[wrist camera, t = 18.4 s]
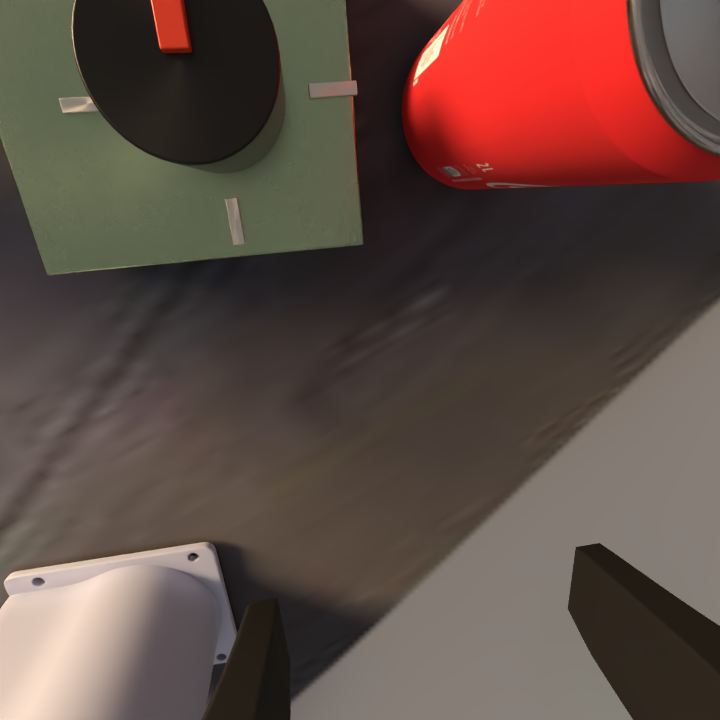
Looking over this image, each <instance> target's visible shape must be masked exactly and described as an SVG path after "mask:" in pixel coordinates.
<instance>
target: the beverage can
mask: <svg viewBox="0 0 720 720" xmlns="http://www.w3.org/2000/svg"><path fill="white" fill-rule="evenodd" d="M402 122H403V129H404V133H405V137H406V140H407V143H408V146H409V148H410V150H411V152H412V154H413V156H414V158H415V159H416V161H417V162H418V163H419V165H420V166H421V167H422V168H423V169H424V170H425V171H426V172H427V173H428V174H429V175H430V176H431V177H433V178H434V179H436V180H437V181H439V182H441V183H443V184H445V185H447V186H450V187H454V188H458V189H496V188H526V187H556V186H586V185H616V184H646V183H676V182H702V181H713V180H720V0H464V1H463V2H462V3H461V4H460V5H459V7H458V8H457V9H456V10H455V11H454V12H453V14H452V15H451V16H450V17H449V18H448V19H447V21H446V22H445V23H444V24H443V25H442V27H441V28H440V29H439V30H438V31H437V32H436V34H435V35H434V36H433V37H432V38H431V39H430V41H429V42H428V43H427V44H426V45H425V47H424V48H423V49H422V50H421V52H420V53H419V55H418V56H417V58H416V60H415V61H414V63H413V65H412V67H411V69H410V72H409V74H408V77H407V80H406V83H405V87H404V92H403V99H402Z"/></svg>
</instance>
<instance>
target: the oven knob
mask: <svg viewBox="0 0 720 720" xmlns="http://www.w3.org/2000/svg"><path fill="white" fill-rule="evenodd" d="M71 35H72V46H73V51H74V56H75V61H76V64H77V68H78V71H79V74H80V77H81V79H82V82H83V84H84V86H85V88H86V91H87V93H88V94H89V96H90V98H91V100H92V101H93V103H94V105H95V106H96V108H97V109H98V110H99V112H100V113H101V115H102V116H103V117H104V119H105V120H106V121H107V122H108V123H109V124H110V125H111V126H112V128H113V129H114V130H116V131H117V132H118V133H119V134H120V135H121V136H122V137H123V138H124V139H126V140H127V141H128V142H130V143H131V144H132V145H134V146H135V147H137V148H138V149H140V150H142V151H144V152H145V153H147V154H149V155H151V156H154V157H156V158H159V159H161V160H164V161H168V162H171V163H175V164H179V165H183V166H187V167H191V168H195V169H199V170H203V171H207V172H213V173H231V172H236V171H240V170H243V169H246V168H248V167H250V166H252V165H253V164H255V163H257V162H258V161H259V160H261V159H262V158H263V157H264V156H265V155H266V154H267V153H268V152H269V151H270V149H271V148H272V146H273V145H274V143H275V142H276V140H277V138H278V136H279V134H280V131H281V128H282V125H283V120H284V115H285V91H284V83H283V75H282V67H281V59H280V52H279V45H278V39H277V35H276V32H275V28H274V25H273V22H272V19H271V17H270V14H269V12H268V9H267V7H266V5H265V3H264V1H263V0H74V3H73V8H72V18H71Z"/></svg>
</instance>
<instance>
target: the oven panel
mask: <svg viewBox="0 0 720 720" xmlns="http://www.w3.org/2000/svg"><path fill="white" fill-rule="evenodd" d="M263 1H264V3H265V5H266V7H267V9H268V12H269V14H270V17H271V19H272V22H273V25H274V28H275V32H276V35H277V39H278V45H279V52H280V59H281V67H282V75H283V83H284V91H285V115H284V120H283V125H282V128H281V131H280V134H279V136H278V138H277V140H276V142H275V143H274V145H273V146H272V148H271V149H270V151H269V152H268V153H267V154H266V155H265V156H264V157H263V158H262V159H261V160H259V161H258V162H257V163H255V164H253V165H252V166H250V167H248V168H246V169H243V170H240V171H236V172H231V173H213V172H207V171H203V170H199V169H195V168H191V167H187V166H183V165H179V164H175V163H171V162H168V161H164V160H161V159H159V158H156V157H154V156H151V155H149V154H147V153H145V152H144V151H142V150H140V149H138V148H137V147H135V146H134V145H132V144H131V143H130V142H128V141H127V140H126V139H124V138H123V137H122V136H121V135H120V134H119V133H118V132H117V131H116V130H114V129H113V128H112V126H111V125H110V124H109V123H108V122H107V121H106V120H105V119H104V117H103V116H102V115H101V113H100V112H99V110H98V109H97V108H96V106H95V105H94V103H93V101H92V100H91V98H90V96H89V94H88V93H87V91H86V88H85V86H84V84H83V82H82V79H81V77H80V74H79V71H78V68H77V64H76V61H75V56H74V51H73V46H72V35H71V18H72V8H73V3H74V0H0V138H1V141H2V144H3V147H4V150H5V153H6V156H7V159H8V162H9V165H10V168H11V171H12V174H13V176H14V179H15V182H16V185H17V188H18V191H19V194H20V197H21V200H22V203H23V206H24V209H25V212H26V215H27V218H28V221H29V224H30V227H31V230H32V233H33V236H34V239H35V242H36V245H37V248H38V251H39V254H40V257H41V260H42V263H43V266H44V268H45V271H46V274H47V275H58V274H69V273H79V272H89V271H100V270H110V269H121V268H131V267H141V266H152V265H162V264H173V263H183V262H194V261H204V260H214V259H225V258H235V257H246V256H256V255H266V254H277V253H287V252H298V251H308V250H318V249H329V248H339V247H350V246H360V245H363V244H364V238H363V224H362V210H361V197H360V183H359V169H358V155H357V142H356V128H355V114H354V100H353V96H357V81H352V73H351V59H350V45H349V31H348V18H347V4H346V0H263Z"/></svg>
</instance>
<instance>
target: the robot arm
mask: <svg viewBox="0 0 720 720" xmlns="http://www.w3.org/2000/svg"><path fill="white" fill-rule="evenodd" d="M191 553H196V554H198V555H192V554H191ZM40 578H42V579H40ZM4 586H5V588H6V590H7V592H8V594H9V596H10V597H9V598H8V599H7V601H6V602H5V603H4V605H3V606H2V608H1V609H0V720H290V660H289V655H288V650H287V645H286V640H285V635H284V630H283V625H282V620H281V614H280V609H279V604H278V599H277V598H276V599H270V600H264V601H258V602H252V603H250V604H249V605H248V606H247V607H246V609H245V612H244V616H243V619H242V622H241V625H240V628H239V630H238V633H237V630H236V626H235V622H234V618H233V614H232V610H231V606H230V602H229V598H228V594H227V590H226V586H225V583H224V579H223V575H222V571H221V567H220V563H219V559H218V555H217V551H216V548H215V546H214V545H213V544H211V543H209V542H201V543H195V544H188V545H182V546H176V547H169V548H163V549H156V550H150V551H144V552H137V553H131V554H124V555H118V556H112V557H105V558H99V559H92V560H86V561H80V562H73V563H67V564H60V565H54V566H48V567H41V568H35V569H28V570H22V571H16V572H13V573H11V574H10V575H9V576H8V577H7V578H6V580H5V582H4ZM568 610H569V612H570V614H571V616H572V618H573V620H574V622H575V624H576V626H577V628H578V630H579V632H580V634H581V636H582V638H583V640H584V642H585V643H586V645H587V647H588V649H589V651H590V653H591V655H592V656H593V658H594V659H595V661H596V663H597V664H598V666H599V668H600V669H601V671H602V672H603V674H604V675H605V677H606V678H607V680H608V681H609V683H610V685H611V686H612V688H613V689H614V691H615V692H616V694H617V695H618V697H619V699H620V700H621V702H622V703H623V705H624V706H625V708H626V709H627V711H628V712H629V714H630V715H631V717H632V718H633V720H720V626H719V625H717V624H716V623H714V622H713V621H711V620H710V619H708V618H707V617H705V616H704V615H702V614H701V613H699V612H697V611H696V610H695V609H693V608H692V607H690V606H689V605H687V604H686V603H684V602H683V601H681V600H680V599H679V598H677V597H676V596H674V595H673V594H671V593H670V592H669V591H667V590H665V589H664V588H663V587H661V586H660V585H658V584H657V583H656V582H654V581H653V580H651V579H650V578H649V577H647V576H646V575H644V574H643V573H641V572H640V571H638V570H637V569H635V568H634V567H633V566H631V565H630V564H629V563H627V562H626V561H624V560H623V559H622V558H620V557H619V556H617V555H616V554H615V553H613V552H612V551H610V550H608V549H607V548H606V547H604V546H603V545H601V544H600V543H598V544H592V545H586V546H580V547H576V550H575V558H574V565H573V573H572V581H571V589H570V596H569V604H568ZM220 663H226V665H225V667H224V670H223V672H222V675H221V677H220V679H219V681H218V684H217V686H216V688H215V691H214V693H213V695H212V698H211V700H210V702H209V705H208V707H207V709H206V703H207V698H208V692H209V687H210V681H211V676H212V670H213V665H215V664H220ZM205 709H206V712H205Z"/></svg>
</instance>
